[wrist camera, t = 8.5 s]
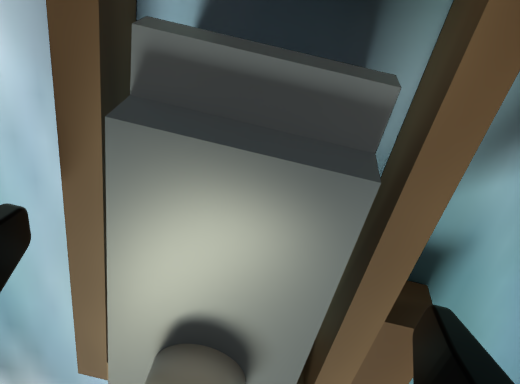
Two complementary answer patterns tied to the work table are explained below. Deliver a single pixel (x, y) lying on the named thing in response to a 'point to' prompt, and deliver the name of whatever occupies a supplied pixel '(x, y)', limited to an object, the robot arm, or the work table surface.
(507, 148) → the work table surface
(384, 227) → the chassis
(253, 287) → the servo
